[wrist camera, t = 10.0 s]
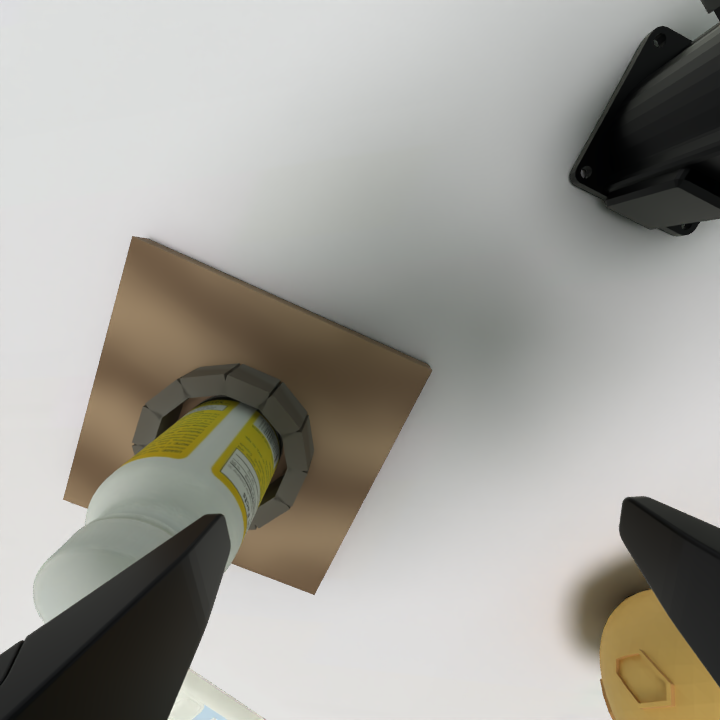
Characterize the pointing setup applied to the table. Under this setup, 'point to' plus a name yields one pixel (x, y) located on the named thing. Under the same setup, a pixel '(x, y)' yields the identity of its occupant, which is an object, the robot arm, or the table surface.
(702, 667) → the stress ball
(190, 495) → the supplement bottle
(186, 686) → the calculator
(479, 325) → the table surface
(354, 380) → the collar board
